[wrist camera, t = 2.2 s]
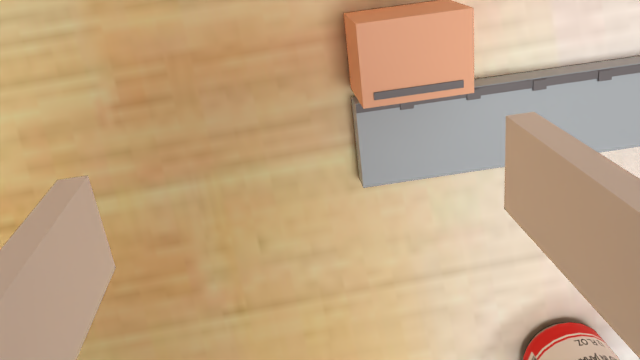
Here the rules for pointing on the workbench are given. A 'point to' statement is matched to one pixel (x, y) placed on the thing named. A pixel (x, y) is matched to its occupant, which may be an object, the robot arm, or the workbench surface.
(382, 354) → the workbench surface
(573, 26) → the workbench surface
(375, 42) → the block
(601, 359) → the beer can
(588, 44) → the workbench surface
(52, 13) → the workbench surface
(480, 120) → the long grey bar
